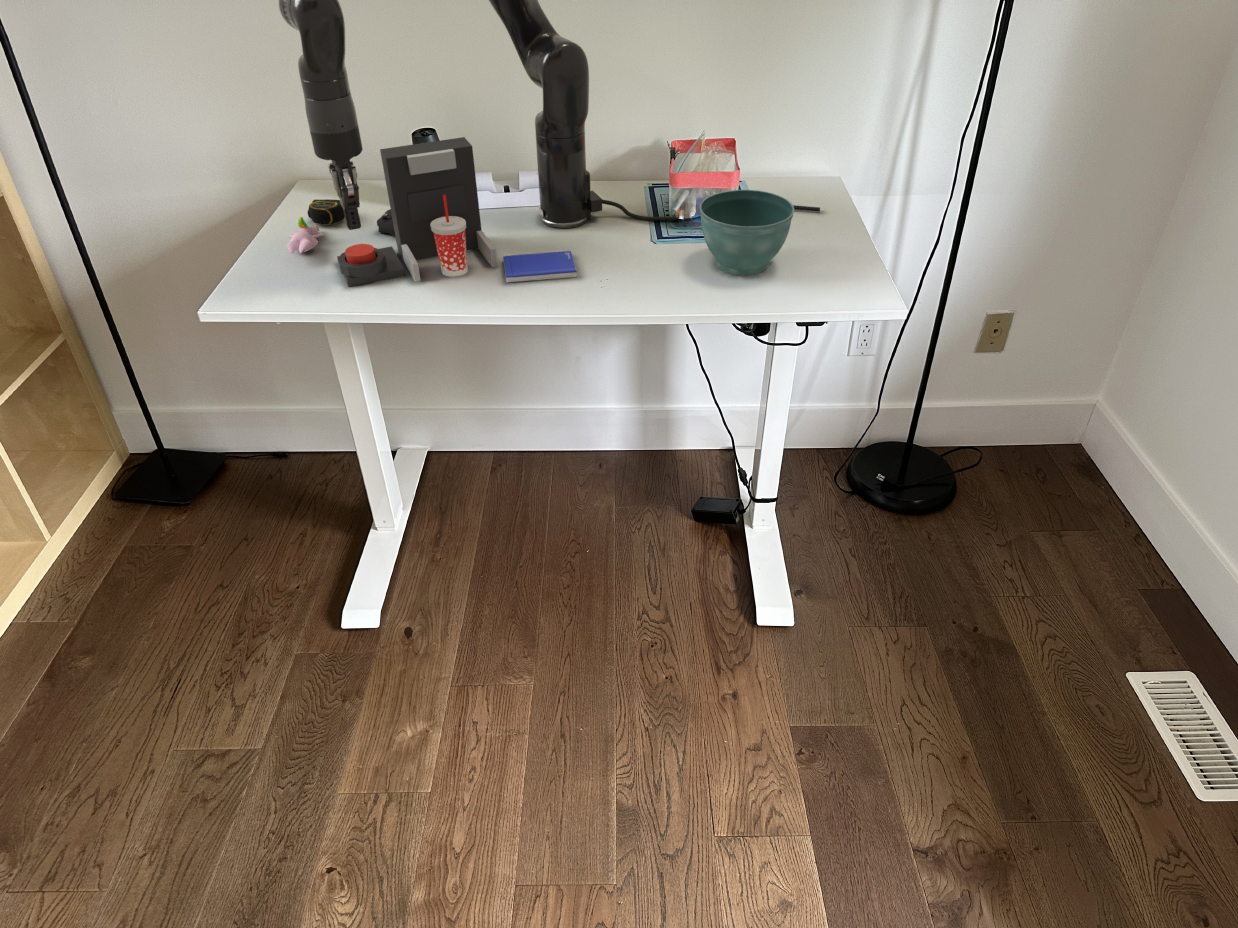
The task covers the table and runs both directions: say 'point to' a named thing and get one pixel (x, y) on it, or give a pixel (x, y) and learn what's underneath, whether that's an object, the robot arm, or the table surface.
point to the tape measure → (326, 211)
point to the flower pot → (745, 228)
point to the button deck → (372, 268)
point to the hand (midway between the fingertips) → (354, 227)
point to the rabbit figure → (304, 238)
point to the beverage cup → (450, 243)
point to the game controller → (386, 223)
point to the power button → (360, 254)
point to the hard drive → (539, 266)
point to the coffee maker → (432, 197)
